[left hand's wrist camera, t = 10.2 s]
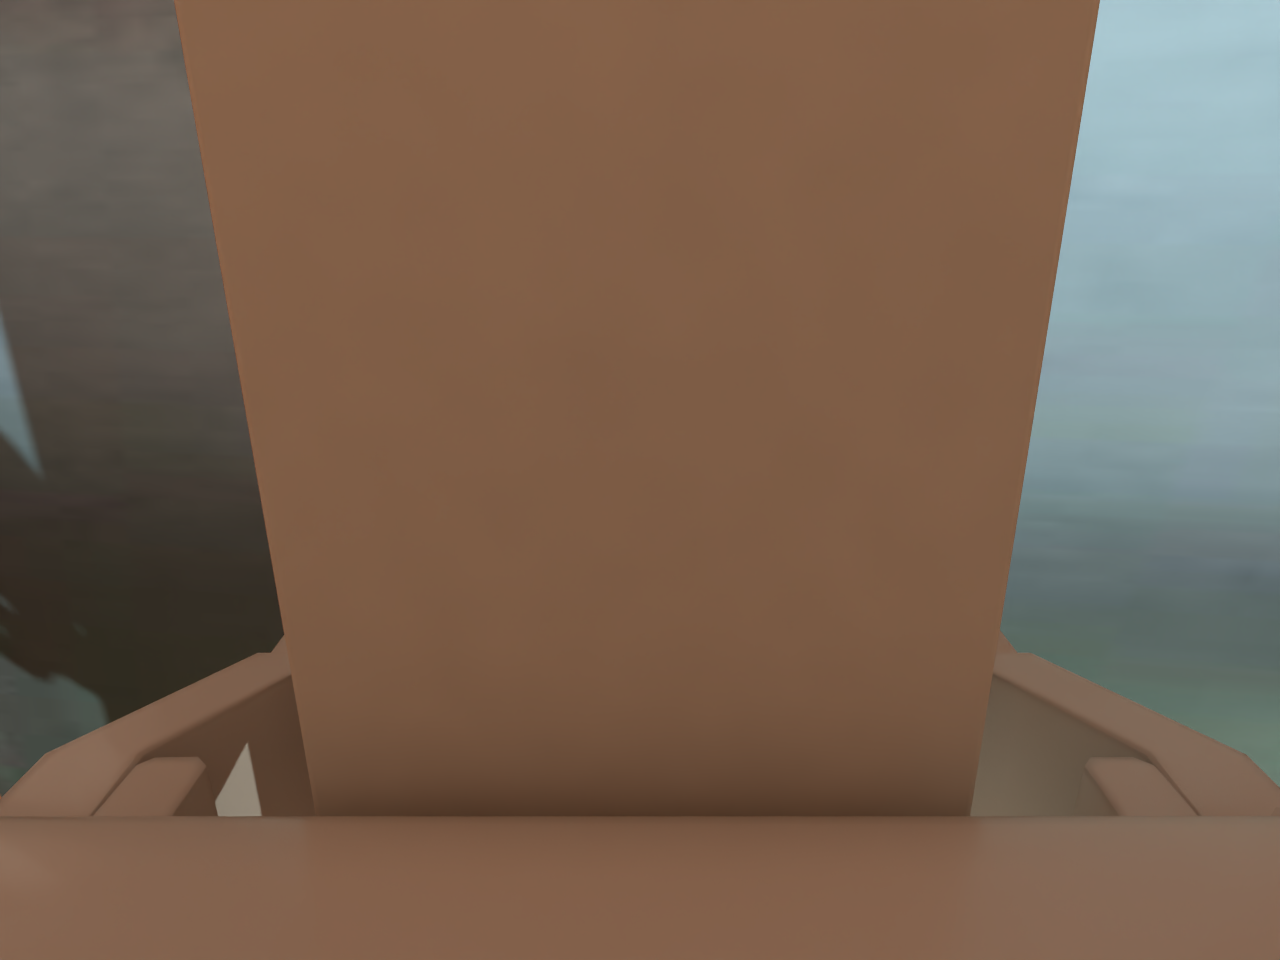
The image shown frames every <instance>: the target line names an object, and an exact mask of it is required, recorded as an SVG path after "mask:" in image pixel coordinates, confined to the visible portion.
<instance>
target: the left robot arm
mask: <svg viewBox="0 0 1280 960" xmlns="http://www.w3.org/2000/svg"><path fill="white" fill-rule="evenodd" d="M0 960H1280V788H1279V787H1278V786H1277V785H1276V784H1275V783H1274V782H1273V781H1272V780H1271V779H1270V778H1269V777H1268V776H1267V775H1266V774H1265V773H1264V772H1263V771H1262V770H1261V769H1260V768H1259V767H1258V766H1257V765H1256V764H1255V763H1254V762H1253V761H1252V760H1251V759H1250V758H1249V757H1248V756H1247V755H1246V754H1244V753H1241V752H1239V751H1237V750H1235V749H1233V748H1231V747H1229V746H1227V745H1225V744H1222V743H1220V742H1218V741H1216V740H1214V739H1212V738H1210V737H1208V736H1205V735H1203V734H1201V733H1199V732H1197V731H1195V730H1193V729H1191V728H1189V727H1186V726H1184V725H1182V724H1180V723H1178V722H1176V721H1174V720H1172V719H1170V718H1167V717H1165V716H1163V715H1161V714H1159V713H1157V712H1155V711H1153V710H1150V709H1148V708H1146V707H1144V706H1142V705H1140V704H1138V703H1136V702H1134V701H1131V700H1129V699H1127V698H1125V697H1123V696H1121V695H1119V694H1117V693H1115V692H1112V691H1110V690H1108V689H1106V688H1104V687H1102V686H1100V685H1098V684H1095V683H1093V682H1091V681H1089V680H1087V679H1085V678H1083V677H1081V676H1079V675H1076V674H1074V673H1072V672H1070V671H1068V670H1066V669H1064V668H1062V667H1059V666H1057V665H1055V664H1053V663H1051V662H1049V661H1047V660H1045V659H1043V658H1040V657H1038V656H1036V655H1034V654H1032V653H1017V652H1016V650H1015V649H1014V648H1013V646H1012V645H1011V644H1010V642H1009V641H1008V640H1007V639H1006V637H1005V636H1004V635H1003V633H1002V632H1001V631H999V637H998V643H997V649H996V656H995V662H994V668H993V675H992V681H991V687H990V693H989V700H988V706H987V712H986V718H985V725H984V731H983V737H982V744H981V750H980V756H979V762H978V769H977V775H976V781H975V788H974V794H973V800H972V806H971V813H970V816H316V813H315V808H314V802H313V796H312V790H311V785H310V779H309V773H308V767H307V762H306V756H305V750H304V744H303V739H302V733H301V727H300V721H299V716H298V710H297V704H296V698H295V693H294V687H293V681H292V675H291V670H290V664H289V658H288V652H287V647H286V641H285V635H284V636H283V637H282V638H281V640H280V641H279V642H278V644H277V645H276V646H275V648H274V649H273V650H272V652H271V653H256V654H254V655H252V656H250V657H248V658H246V659H244V660H242V661H239V662H237V663H235V664H233V665H231V666H229V667H227V668H225V669H223V670H220V671H218V672H216V673H214V674H212V675H210V676H208V677H206V678H204V679H202V680H199V681H197V682H195V683H193V684H191V685H189V686H187V687H185V688H183V689H180V690H178V691H176V692H174V693H172V694H170V695H168V696H166V697H164V698H162V699H159V700H157V701H155V702H153V703H151V704H149V705H147V706H145V707H143V708H141V709H138V710H136V711H134V712H132V713H130V714H128V715H126V716H124V717H122V718H119V719H117V720H115V721H113V722H111V723H109V724H107V725H105V726H103V727H101V728H98V729H96V730H94V731H92V732H90V733H88V734H86V735H84V736H82V737H80V738H77V739H75V740H73V741H71V742H69V743H67V744H65V745H63V746H61V747H58V748H56V749H54V750H52V751H50V752H48V753H46V754H45V755H44V756H43V757H42V758H41V759H40V760H39V761H38V762H37V763H36V764H35V765H34V766H33V767H32V768H31V769H30V770H29V771H28V772H27V773H26V774H25V775H24V776H23V777H22V778H21V779H20V780H19V781H18V782H17V783H16V784H15V785H14V786H13V787H12V788H11V789H10V790H9V791H8V792H7V793H6V794H5V795H4V796H3V797H2V798H1V799H0Z"/></svg>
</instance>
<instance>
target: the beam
mask: <svg viewBox="0 0 1280 960" xmlns="http://www.w3.org/2000/svg"><path fill="white" fill-rule="evenodd" d="M174 3H175V9H176V15H177V21H178V26H179V32H180V38H181V44H182V49H183V55H184V61H185V67H186V72H187V78H188V84H189V90H190V95H191V101H192V107H193V112H194V118H195V124H196V130H197V135H198V141H199V147H200V153H201V158H202V164H203V170H204V176H205V181H206V187H207V193H208V199H209V204H210V210H211V216H212V222H213V227H214V233H215V239H216V245H217V250H218V256H219V262H220V268H221V273H222V279H223V285H224V291H225V296H226V302H227V308H228V314H229V319H230V325H231V331H232V337H233V342H234V348H235V354H236V360H237V365H238V371H239V377H240V382H241V388H242V394H243V400H244V405H245V411H246V417H247V423H248V428H249V434H250V440H251V446H252V451H253V457H254V463H255V469H256V474H257V480H258V486H259V492H260V497H261V503H262V509H263V515H264V520H265V526H266V532H267V538H268V543H269V549H270V555H271V561H272V566H273V572H274V578H275V584H276V589H277V595H278V601H279V607H280V612H281V618H282V624H283V630H284V635H285V641H286V647H287V652H288V658H289V664H290V670H291V675H292V681H293V687H294V693H295V698H296V704H297V710H298V716H299V721H300V727H301V733H302V739H303V744H304V750H305V756H306V762H307V767H308V773H309V779H310V785H311V790H312V796H313V802H314V808H315V813H316V816H970V813H971V806H972V800H973V794H974V788H975V781H976V775H977V769H978V762H979V756H980V750H981V744H982V737H983V731H984V725H985V718H986V712H987V706H988V700H989V693H990V687H991V681H992V675H993V668H994V662H995V656H996V649H997V643H998V637H999V631H1000V624H1001V618H1002V612H1003V605H1004V599H1005V593H1006V587H1007V580H1008V574H1009V568H1010V562H1011V555H1012V549H1013V543H1014V536H1015V530H1016V524H1017V518H1018V511H1019V505H1020V499H1021V492H1022V486H1023V480H1024V474H1025V467H1026V461H1027V455H1028V449H1029V442H1030V436H1031V430H1032V423H1033V417H1034V411H1035V405H1036V398H1037V392H1038V386H1039V379H1040V373H1041V367H1042V361H1043V354H1044V348H1045V342H1046V335H1047V329H1048V323H1049V317H1050V310H1051V304H1052V298H1053V292H1054V285H1055V279H1056V273H1057V266H1058V260H1059V254H1060V248H1061V241H1062V235H1063V229H1064V222H1065V216H1066V210H1067V204H1068V197H1069V191H1070V185H1071V179H1072V172H1073V166H1074V160H1075V153H1076V147H1077V141H1078V135H1079V128H1080V122H1081V116H1082V109H1083V103H1084V97H1085V91H1086V84H1087V78H1088V72H1089V66H1090V59H1091V53H1092V47H1093V40H1094V34H1095V28H1096V22H1097V15H1098V9H1099V3H1100V0H174Z"/></svg>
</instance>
